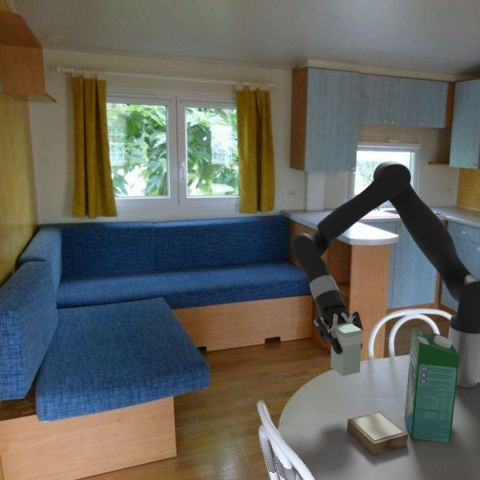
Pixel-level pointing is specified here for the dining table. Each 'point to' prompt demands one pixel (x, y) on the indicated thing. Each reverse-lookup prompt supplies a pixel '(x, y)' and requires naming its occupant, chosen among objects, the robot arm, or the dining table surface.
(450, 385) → the milk carton
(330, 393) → the dining table surface
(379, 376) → the dining table surface
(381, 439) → the walnut podium
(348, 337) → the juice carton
